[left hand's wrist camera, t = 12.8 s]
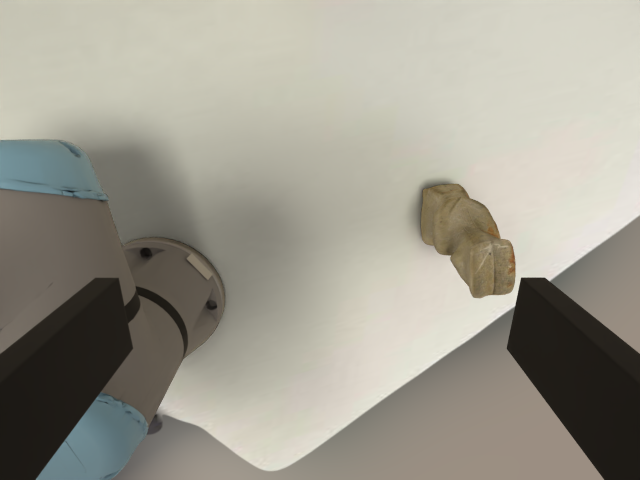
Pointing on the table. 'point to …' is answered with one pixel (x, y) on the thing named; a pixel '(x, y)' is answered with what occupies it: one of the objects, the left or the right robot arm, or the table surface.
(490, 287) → the sculpture
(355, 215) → the table surface
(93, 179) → the left robot arm
